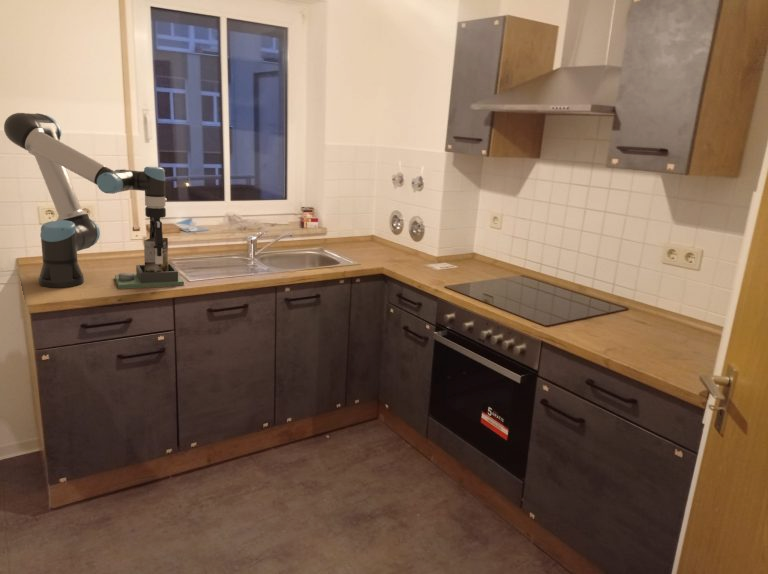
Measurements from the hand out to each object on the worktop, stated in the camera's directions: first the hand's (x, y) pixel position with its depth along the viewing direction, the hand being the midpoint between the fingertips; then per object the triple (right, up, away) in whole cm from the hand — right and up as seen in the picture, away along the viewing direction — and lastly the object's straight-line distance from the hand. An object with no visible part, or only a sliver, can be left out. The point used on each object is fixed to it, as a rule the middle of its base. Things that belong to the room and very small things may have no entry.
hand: (156, 260), depth 232 cm
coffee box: (-1, -7, +2) cm, 8 cm away
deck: (-3, -9, +1) cm, 9 cm away
